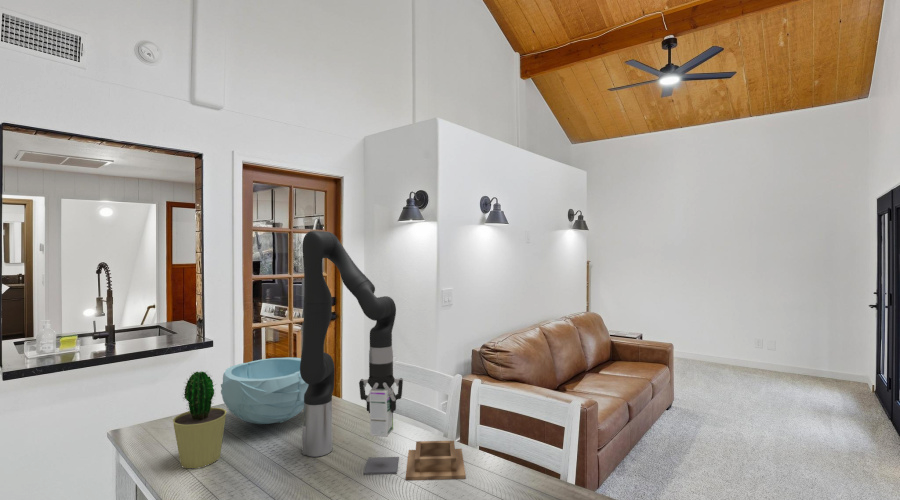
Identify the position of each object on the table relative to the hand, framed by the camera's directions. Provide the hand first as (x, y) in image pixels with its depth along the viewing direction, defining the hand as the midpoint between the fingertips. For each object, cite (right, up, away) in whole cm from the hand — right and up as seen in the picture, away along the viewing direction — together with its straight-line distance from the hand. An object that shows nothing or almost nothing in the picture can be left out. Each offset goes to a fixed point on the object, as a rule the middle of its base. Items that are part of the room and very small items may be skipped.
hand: (381, 411), depth 145 cm
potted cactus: (-60, -18, +5) cm, 63 cm away
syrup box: (0, -7, 0) cm, 7 cm away
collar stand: (+17, -17, +1) cm, 24 cm away
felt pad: (0, -17, 0) cm, 17 cm away
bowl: (-49, -17, +36) cm, 64 cm away
